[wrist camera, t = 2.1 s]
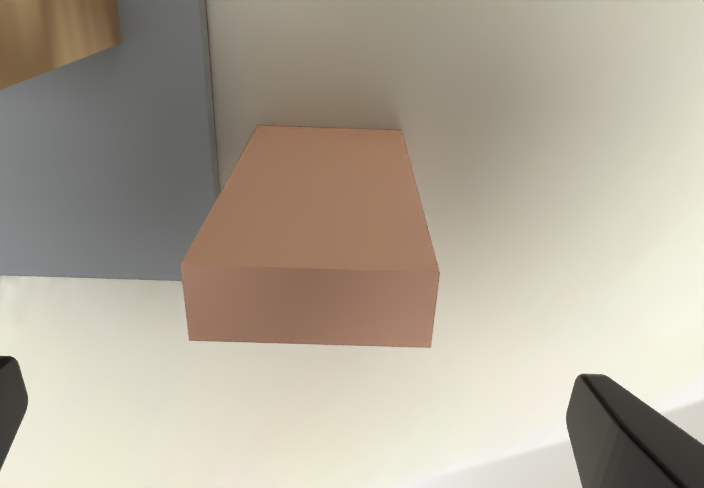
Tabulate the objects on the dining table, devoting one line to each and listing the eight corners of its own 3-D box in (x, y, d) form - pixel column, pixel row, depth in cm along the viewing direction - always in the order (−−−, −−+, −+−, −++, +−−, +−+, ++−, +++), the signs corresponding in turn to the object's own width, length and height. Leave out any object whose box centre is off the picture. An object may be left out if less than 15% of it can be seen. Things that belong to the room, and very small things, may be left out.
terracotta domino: (257, 125, 20) (180, 264, 11) (401, 130, 20) (439, 272, 11) (259, 174, 21) (188, 340, 12) (397, 178, 21) (430, 347, 12)
